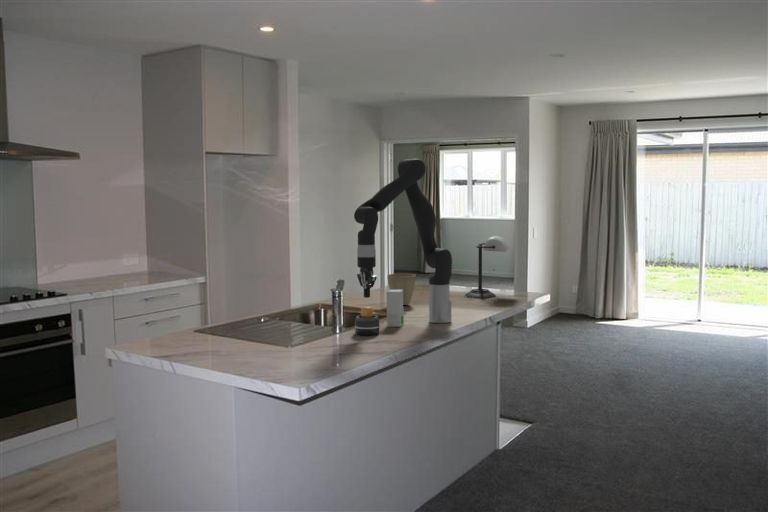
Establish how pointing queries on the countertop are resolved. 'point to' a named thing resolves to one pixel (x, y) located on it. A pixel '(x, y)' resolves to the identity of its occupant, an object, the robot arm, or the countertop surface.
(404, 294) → the plant pot
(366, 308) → the wooden block
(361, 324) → the barrel
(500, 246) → the lamp
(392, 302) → the skincare box
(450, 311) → the robot arm
